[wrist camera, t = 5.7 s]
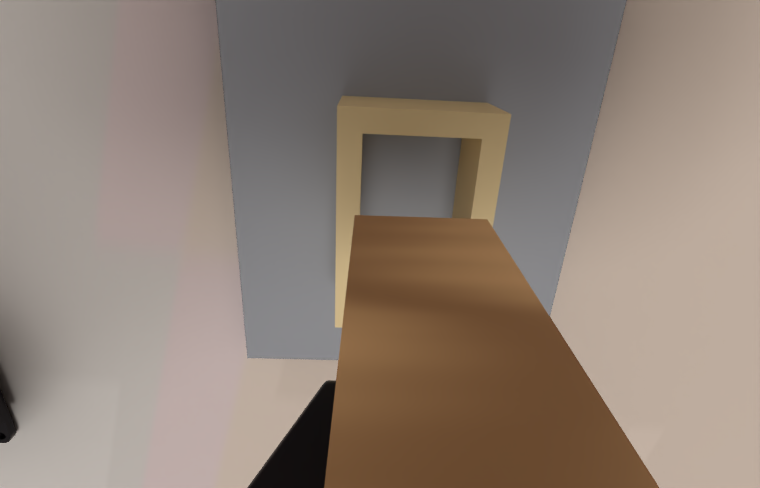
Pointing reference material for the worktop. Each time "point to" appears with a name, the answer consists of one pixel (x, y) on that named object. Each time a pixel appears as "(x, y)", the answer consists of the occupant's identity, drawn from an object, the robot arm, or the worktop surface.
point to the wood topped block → (461, 372)
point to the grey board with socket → (400, 138)
